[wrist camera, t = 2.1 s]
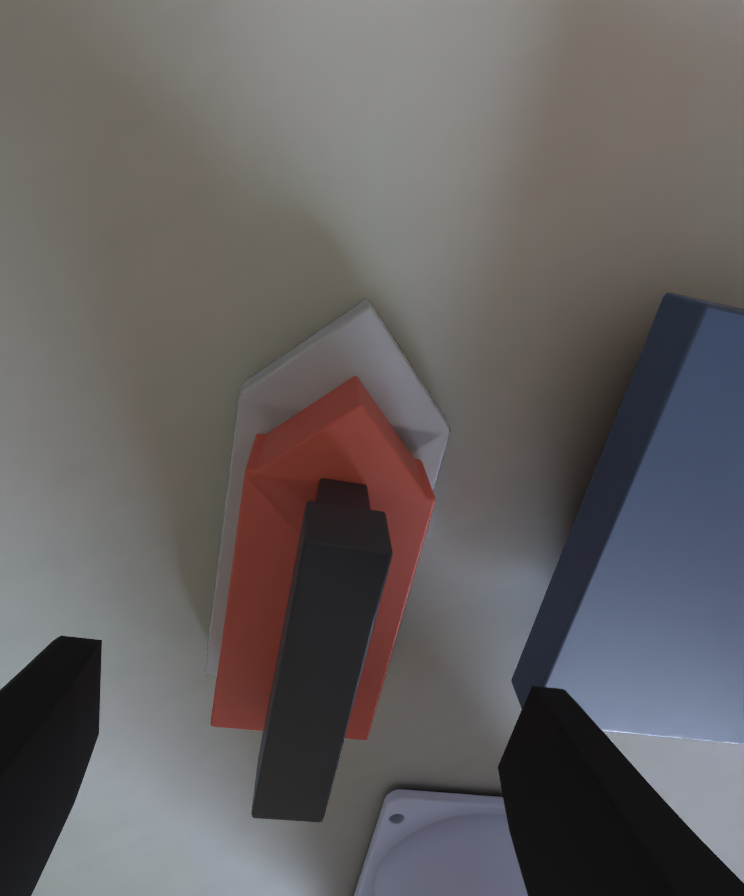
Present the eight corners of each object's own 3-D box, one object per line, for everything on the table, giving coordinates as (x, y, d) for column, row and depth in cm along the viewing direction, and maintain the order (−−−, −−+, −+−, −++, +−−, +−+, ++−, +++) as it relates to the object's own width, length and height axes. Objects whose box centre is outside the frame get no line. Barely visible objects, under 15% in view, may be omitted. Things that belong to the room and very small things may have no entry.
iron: (374, 667, 18) (393, 859, 13) (210, 650, 17) (159, 845, 12) (470, 319, 14) (556, 393, 8) (257, 276, 13) (210, 328, 8)
